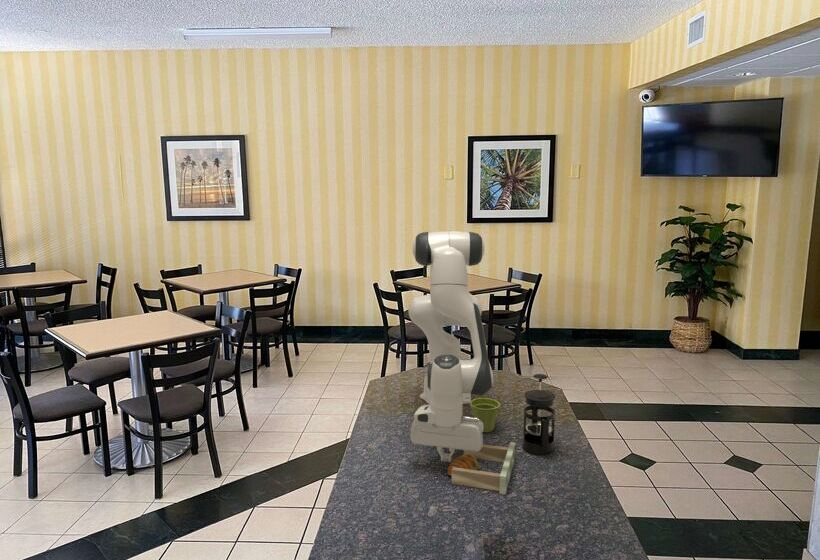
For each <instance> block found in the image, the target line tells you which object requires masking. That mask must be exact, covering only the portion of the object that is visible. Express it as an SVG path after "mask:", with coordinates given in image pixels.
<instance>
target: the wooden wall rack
mask: <svg viewBox="0 0 820 560" xmlns="http://www.w3.org/2000/svg"><path fill="white" fill-rule="evenodd" d="M464 454H471V455H473V456H474V457H475V458H476V460H483V461H491V462H497V463H503V464H502V469H501V471H500V473H498V472H490V471H482V470H469V469H462V468H455V467H453V468H452V476H451V484H452V485H458V486H463V485H464V487H470V488H479V489H484V490H485V489H486V490H491V491H498V492H499V494H500V495H506V494H507V490H508V487H509V484H510V478H511V476H512V473H513V468H514V465H515V461H516V442H512V441H511V442H509V445H508V446H507V447H506V446H498V445H490V444H484V443H483V446H482V448H481V450H480V451H479V452H475V451H467V450H463V455H464Z"/></svg>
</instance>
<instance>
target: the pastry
mask: <svg viewBox="0 0 820 560" xmlns="http://www.w3.org/2000/svg"><path fill="white" fill-rule="evenodd" d="M453 467H455V468H462V469H469V470H477V471H479V469H480V464H479V462H478V459H476V458H475V457H474V456H473V455H471V454H464V453H463V454H462V455H460V456H457V457H455V458H454V459H452V461H451V462H450V464H449V465H448V467H446V470H447V475H449V476H450V477H452V468H453Z"/></svg>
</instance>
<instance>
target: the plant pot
mask: <svg viewBox="0 0 820 560" xmlns="http://www.w3.org/2000/svg"><path fill="white" fill-rule="evenodd" d="M469 405H470V406H471V409H472V414H473V418H474V417H475V418H478V419H479V420H481V421H482V422H483V424H484V430H483V432H482V433H491V432H492V431H493V430H494V429H495V426H496V425H495V424H496V419H497V414H498V413H497V412H498V410H499V408H500V406H501V403H500V402H499V401H497V400H496V399H493V398H491V397H490V398H489V397H477V398H474V399H471V402H470V403H469ZM478 422H480V421H478Z"/></svg>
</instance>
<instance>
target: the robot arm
mask: <svg viewBox="0 0 820 560" xmlns="http://www.w3.org/2000/svg"><path fill="white" fill-rule="evenodd" d="M484 243H485V242H484V240H483V238H482V236H481V234H479V233H478V232H477V233H476V232H472V231H469V232H466V231H458V230H447V231H432V232H429V231H424V232H420V233H418V234H417V235H416V236H415V239H414V240H413V244H412V254H413V258H414V260H415V262H416V263H417V264H418V265H421V266H423V267H425V269H427V268H428V266H430V269H429V294H424V295H420V296H414V297H413V298H412V299H411V301H410V302H409V305H408V316H409V319H410V320H411V322H412V323H413V324H414V325H416V326H417V327H419V328H420V330H421V331H422V332H423V333H424V335H425V336H426V339H427V343H428V350H429V361H428V366H427V372H426V373H427V374H426V375H425V376H424V382H423V383H424V384H423V385H424V386H423V392H422V393H421V394H419V398H420V399H422V400H424V401H425V402H426V404H425V405H421V406H420V407H418V408H417V410H415V412H414V415H413V422H412V424H411V428H410V440H411V443H412V444H415V445H424V446H430V447H436V450H437V452H438V454H439V455H440V461H441V462H447V463H451V462H452V461H453V455H454V453H455V451H456V450H460V451H464V450H467V451H475V452H479V451H480V450H481V448H482V446H483V444H484V441H483V440H484V439H483V438H484V437H483V433H484V432H483V430H484V424H483V422H482V421H481V420H479V419H478V418H475V417H474V416H473V417H472V416H465V415H463V405H468V404H470V402H471V401H472V395H475V396H483V395H485V394H486V393H488V392H489V391H490V390H491V389H492V387H493V383H494V373H493V369H492V366H491V363H490V359H489V355H488V349H487V342H486V337H485V336H486V335H485V331H484V325H483V322H482V314H483V313H482V312H483V307H482V303H481V302H480V300H479V299H478V298H477V296H475V295H473V294H471V293H470V291H469V287H468V284H469V283H468V281H469V280H468V271H467V270H468V269H467V266H468V267H472V266H477V265H479V264H480V263H481V262H482V259H483V256H484V255H485V244H484ZM447 326H452V327H453V326H454V327H455V326H456V327H457V326H459V327H460V326H462V327H463V326H465V327H466V328H467V329H468V330H469V332H470V333H469V334H470V338H471V346H472V350H473V351H472V352H473V358H471V359H462V358H461V342H460V340H459V339H458V338H457V337H456V336H455V335H453V334H450V333H448V332H446V331H445V330H444V327H447ZM478 421H480V422H478ZM444 449H449V453H446V452H445V451H444Z"/></svg>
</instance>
